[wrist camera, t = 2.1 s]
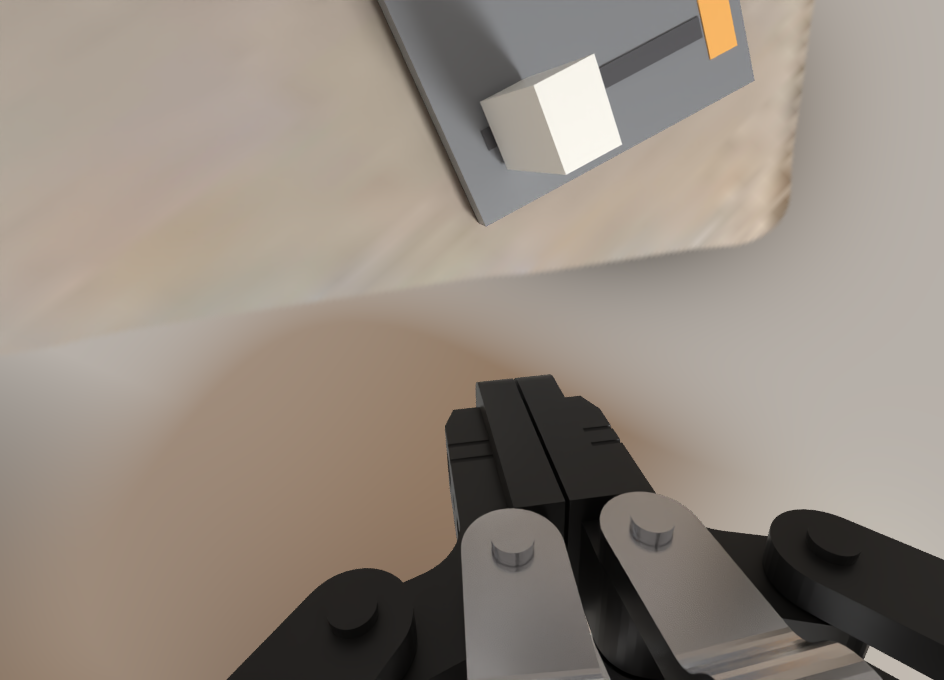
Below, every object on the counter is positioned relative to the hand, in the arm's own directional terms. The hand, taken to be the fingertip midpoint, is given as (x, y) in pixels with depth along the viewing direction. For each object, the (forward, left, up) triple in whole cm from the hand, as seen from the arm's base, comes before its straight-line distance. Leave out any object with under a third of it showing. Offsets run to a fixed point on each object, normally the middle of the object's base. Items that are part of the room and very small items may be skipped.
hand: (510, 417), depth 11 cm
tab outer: (-2, +10, -22) cm, 24 cm away
